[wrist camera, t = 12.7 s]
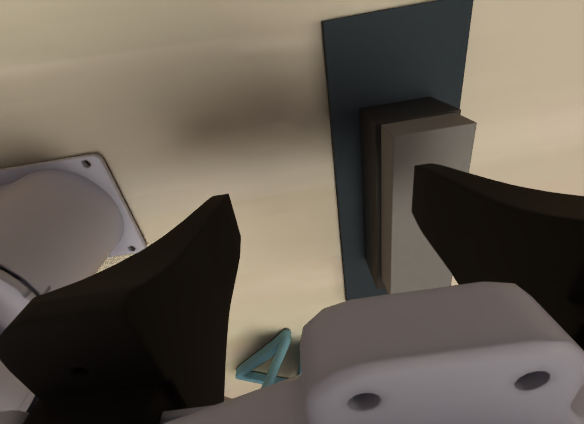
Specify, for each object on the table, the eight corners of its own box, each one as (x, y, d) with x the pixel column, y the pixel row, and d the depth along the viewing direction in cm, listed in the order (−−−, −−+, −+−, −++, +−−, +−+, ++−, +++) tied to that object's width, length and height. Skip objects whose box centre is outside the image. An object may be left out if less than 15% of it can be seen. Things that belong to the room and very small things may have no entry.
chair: (334, 340, 31) (362, 495, 21) (300, 384, 35) (309, 533, 24) (263, 322, 29) (255, 482, 19) (235, 370, 33) (216, 525, 23)
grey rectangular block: (419, 250, 25) (453, 303, 20) (364, 258, 25) (385, 312, 20) (431, 96, 19) (484, 119, 14) (359, 108, 19) (386, 135, 14)
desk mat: (345, 300, 28) (347, 305, 28) (321, 21, 17) (322, 21, 16) (433, 287, 28) (436, 292, 27) (468, -6, 16) (474, -7, 16)
